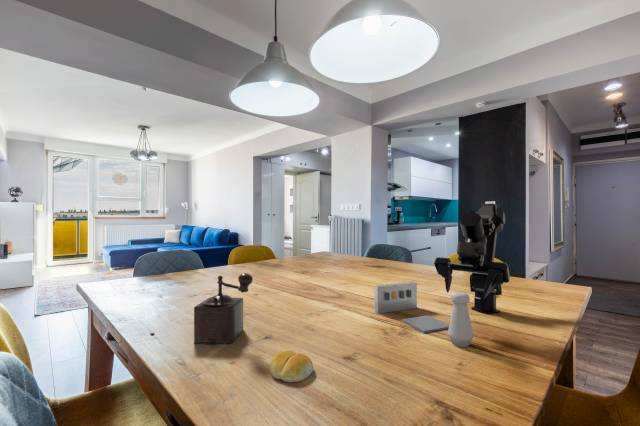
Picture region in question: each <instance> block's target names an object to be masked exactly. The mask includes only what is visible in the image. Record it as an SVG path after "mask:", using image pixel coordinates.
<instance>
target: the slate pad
mask: <svg viewBox="0 0 640 426" xmlns="http://www.w3.org/2000/svg"><path fill="white" fill-rule="evenodd" d="M401 322H403V323H404V324H406V325H408V326H410V327H412V328H414V329H415V330H417V331H420V333H422V334H425V333H426V334H427V333H431V332H437V331H442V330H449V325H450V324H449V323H448V324H447V323H446V322H444V321H441V320H439V319H436V318H434V317H433V316H430V315H427V314H426V315H422V316H421V315H420V316H416V317H410V318H409V317H408V318H403V319H401Z"/></svg>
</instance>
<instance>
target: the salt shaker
mask: <svg viewBox="0 0 640 426" xmlns="http://www.w3.org/2000/svg"><path fill="white" fill-rule="evenodd" d="M470 299H471V298H470V295H469V294H468V293H466V292H463V291H453V292H452V293H451V295H450V300H451V302H452V303H453V306H452V311H451V316H450V321H449V324H448V325H449V329H447V330H448V331H447V334H448V337H449V339H450V343H452V345H454V346H456V347H460V348H468V347H469V346H470V345H471V343H472V341H473V339H474V332H473V328H472V322H471V318H470V317H471V316H470V313H469V312H470V311H469V307H468V304H469V303H470Z"/></svg>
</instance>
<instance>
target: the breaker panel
mask: <svg viewBox="0 0 640 426" xmlns="http://www.w3.org/2000/svg"><path fill="white" fill-rule="evenodd" d="M417 283H418V282H416V281H405V282H395V283H385V284H375V285H374V313H376V314H377V315H379V314H384V313H392V312H398V311H399V312H400V311H406V310H412V309H417V308H418V301H417V300H418V295H417V294H418V290H417V289H418V287H417V286H418V285H417Z"/></svg>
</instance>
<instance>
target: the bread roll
mask: <svg viewBox="0 0 640 426" xmlns="http://www.w3.org/2000/svg"><path fill="white" fill-rule="evenodd" d="M269 369H270V370H269V371H270V374H271V376H272V377H273V378H275V379H277V380H282V381H283V382H285V383H295V382H296V383H299V382H302V381H304V380H305V379H307V378H309V376H310V375H311V374H312V373H313V370H314V363H313V360H312V359H311V358H310V357H309V356H307V355H306V354H304V353H301V352H300V353H296V352H294V350H293V351H292V350H283V351H280V352H279V353H277V354H276V355H274V356H273V357H272V359H271V361H270V365H269Z"/></svg>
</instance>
